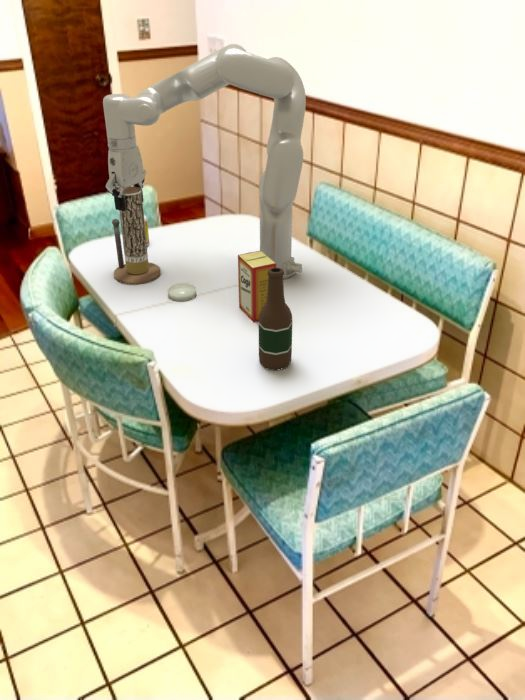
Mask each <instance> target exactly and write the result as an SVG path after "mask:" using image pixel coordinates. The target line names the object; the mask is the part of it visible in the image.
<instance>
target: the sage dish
mask: <svg viewBox="0 0 525 700" xmlns="http://www.w3.org/2000/svg"><path fill="white" fill-rule="evenodd" d="M196 296H197V287H196V286H195V285H194V284H191V283H175V284H173V285H171V286H169V287H168V288H167V297H168V299H169V300H171V301H174V302H187V301H191V300H193V299H194V298H195V297H196Z"/></svg>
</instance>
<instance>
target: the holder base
mask: <svg viewBox="0 0 525 700" xmlns="http://www.w3.org/2000/svg"><path fill="white" fill-rule="evenodd" d="M111 224H112V226H113V232H114V239H115V241H114V242H115V248H116V255H117V263H118V267H116V268H115V269H114V270H113V277H114V278H113V279H114V280H115V281H116V282H118V283H120V284H123V285H129V286H131V285H133V286H136V285H143V284H148V283H151V282H154V281H156V280H157V279H159V278H160V277H161V273H162V272H161V267H160V266H159V265H158V264H155V263H153V262H149V261H148V265H149V269H148V271H147V272H146V273H143V274H139V275H134V274H130V273H128V272H127V270H126V263H125V260H124V255H123V253H124V252H123V247H122V245H123V244H122V239H121V231H120V225H121V221H120V219H118V218H113V219H112V221H111Z"/></svg>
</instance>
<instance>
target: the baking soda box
mask: <svg viewBox="0 0 525 700" xmlns="http://www.w3.org/2000/svg"><path fill="white" fill-rule="evenodd" d="M275 267H276V263H275V262H274V261H272V260H271V259H270V258H269V257H267V256H266V255H265V254H264V253H263V252H261V251H260V250H258V251H252V252H251V251H250V252H247V253H246V252H245V253H241V254H238V255H237V271H238V273H237V274H238V275H237V276H238V279H237V280H238V305H239V306H238V308H239V309H240V310H241V311H242V312H243V313H244V314H245V315H246V317H248V318H249V320H251V321H252V323H259V314H260V312H261V309H262V308H263V306H264V305H265V304H266V300H267V292H268V277H269V276H268V275H267V273H268V270H269V269H270V268H275Z"/></svg>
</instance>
